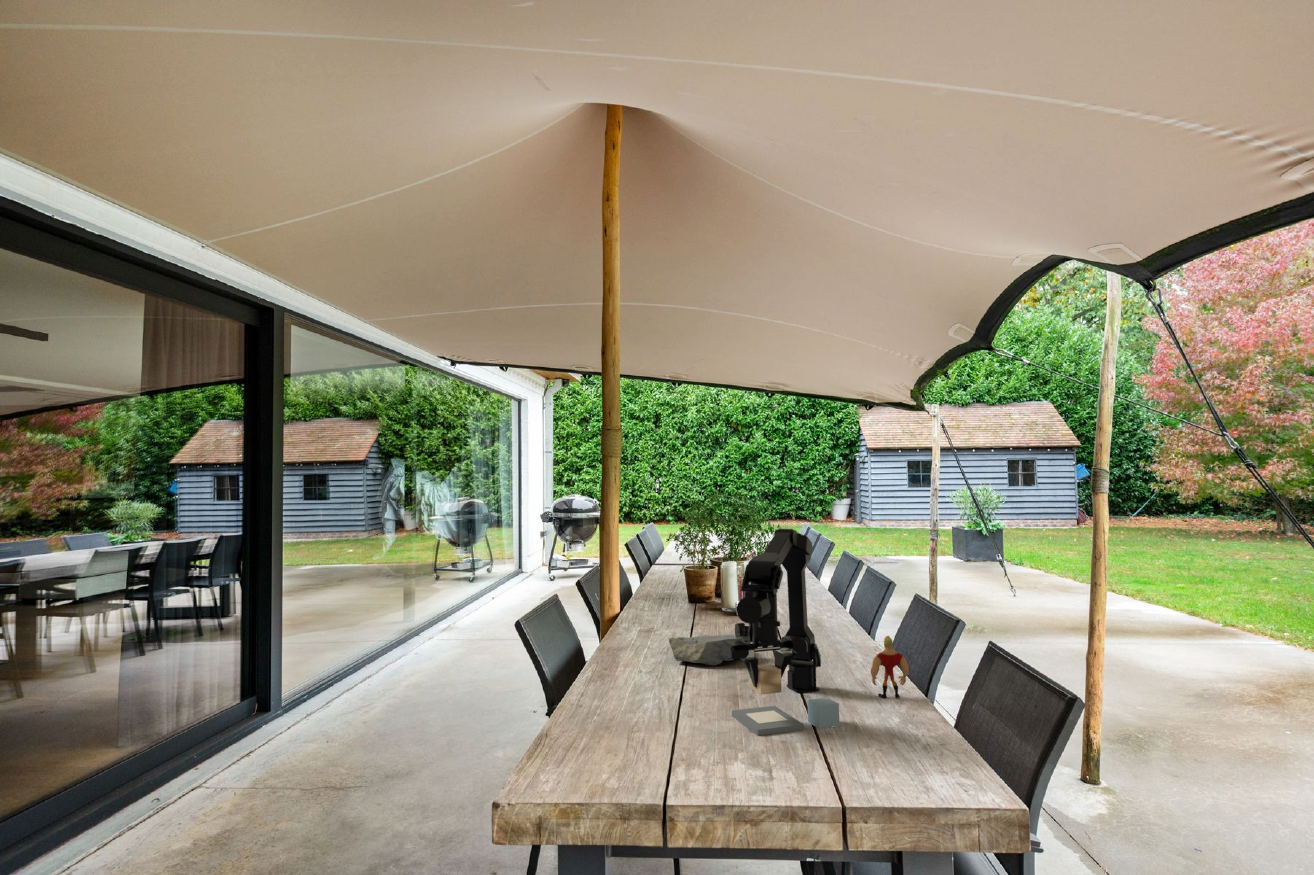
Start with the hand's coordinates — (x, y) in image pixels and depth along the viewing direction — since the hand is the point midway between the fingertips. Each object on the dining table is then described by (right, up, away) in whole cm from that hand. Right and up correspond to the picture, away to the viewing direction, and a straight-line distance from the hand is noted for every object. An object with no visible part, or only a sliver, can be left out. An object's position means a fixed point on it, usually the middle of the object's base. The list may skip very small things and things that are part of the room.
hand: (766, 685), depth 166 cm
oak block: (0, -1, 0) cm, 1 cm away
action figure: (+33, -9, +18) cm, 39 cm away
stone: (-8, -12, +60) cm, 61 cm away
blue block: (+12, -8, -2) cm, 15 cm away
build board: (0, -8, -1) cm, 8 cm away
